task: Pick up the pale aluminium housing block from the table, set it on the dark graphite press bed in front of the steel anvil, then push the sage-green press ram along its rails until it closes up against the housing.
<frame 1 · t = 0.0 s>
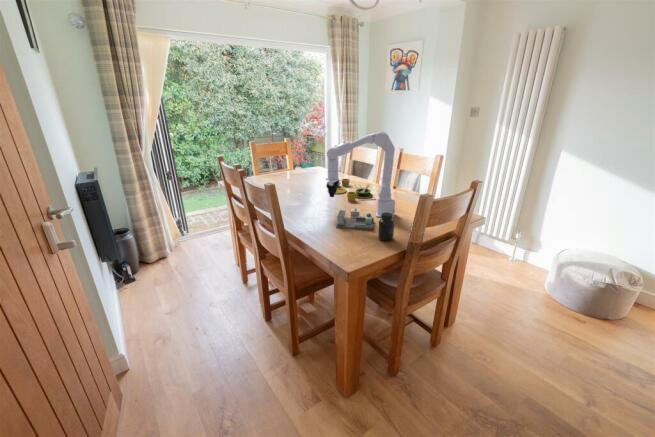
hand: (333, 194, 162), 10 cm above the table, tool pointing down, fingers open, 7 cm apart
press: (355, 224, 149), on the table
tableware set: (348, 193, 201), on the table
supplement bottle: (385, 239, 134), on the table
housing: (355, 217, 159), on the table
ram: (368, 218, 147), point 4 cm above the table, slide at 0.0 cm
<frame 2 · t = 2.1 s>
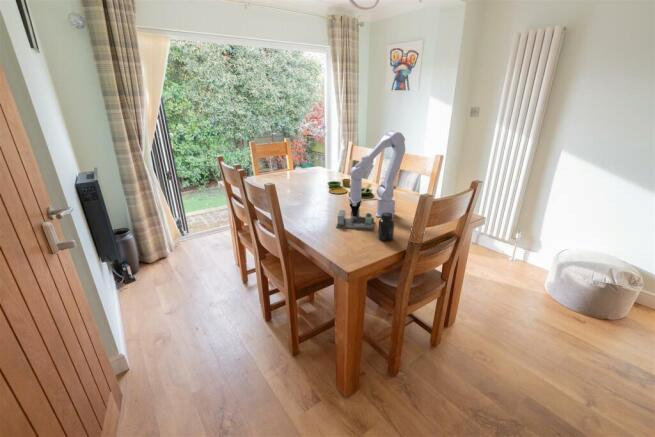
hand: (355, 214, 159), 1 cm above the table, tool pointing down, fingers closed on housing, 4 cm apart
housing: (355, 216, 159), on the table, touching gripper
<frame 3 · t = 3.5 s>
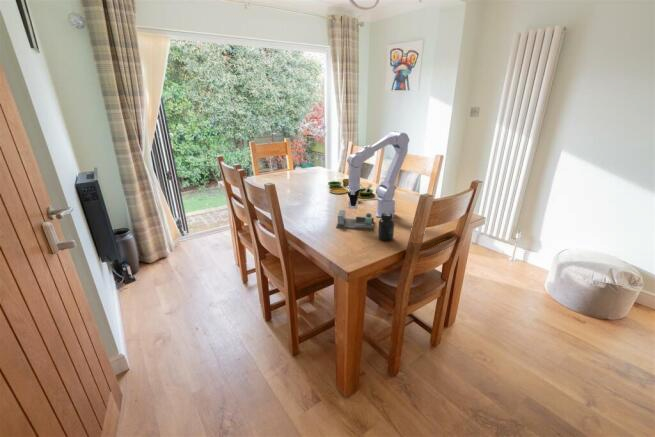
hand: (353, 204, 153), 8 cm above the table, tool pointing down, fingers closed on housing, 4 cm apart
housing: (353, 207, 153), point 7 cm above the table, touching gripper
when the fingers open (4 cm above the table, at t = 5.2 s): housing drops 1 cm, resting on press.
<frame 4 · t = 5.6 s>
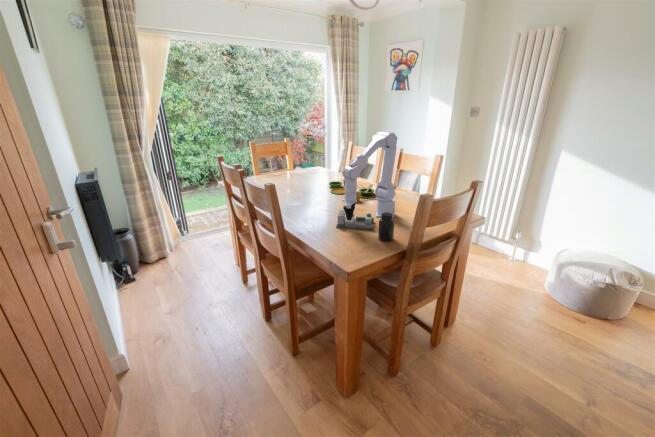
hand: (349, 217, 148), 4 cm above the table, tool pointing down, fingers open, 7 cm apart
housing: (349, 222, 150), point 1 cm above the table, touching press
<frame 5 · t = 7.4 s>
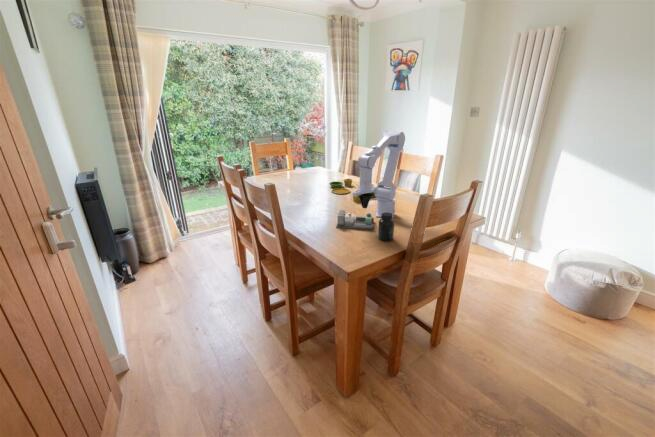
hand: (364, 207, 145), 9 cm above the table, tool pointing down, fingers closed
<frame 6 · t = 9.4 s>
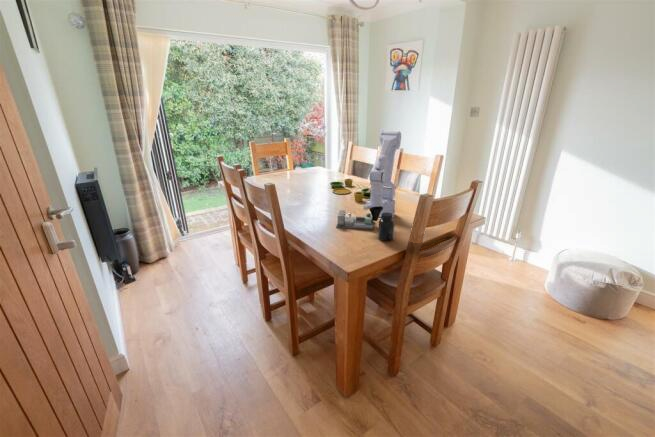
hand: (375, 220, 147), 3 cm above the table, tool pointing down, fingers closed
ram: (368, 218, 147), point 4 cm above the table, slide at 0.1 cm, touching gripper
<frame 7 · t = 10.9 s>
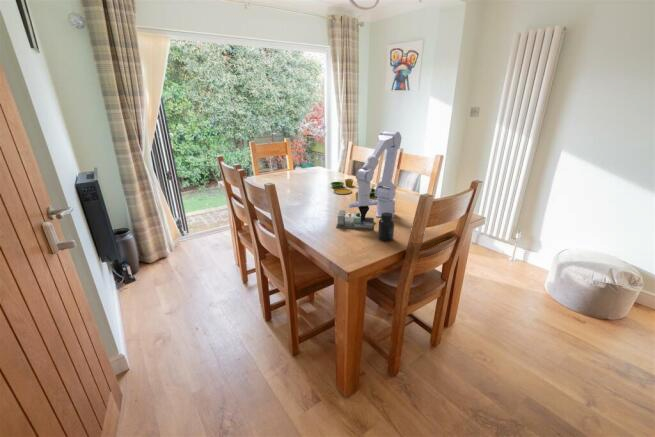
hand: (362, 219, 147), 3 cm above the table, tool pointing down, fingers closed, pressing on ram
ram: (357, 218, 148), point 4 cm above the table, slide at 5.3 cm, touching gripper
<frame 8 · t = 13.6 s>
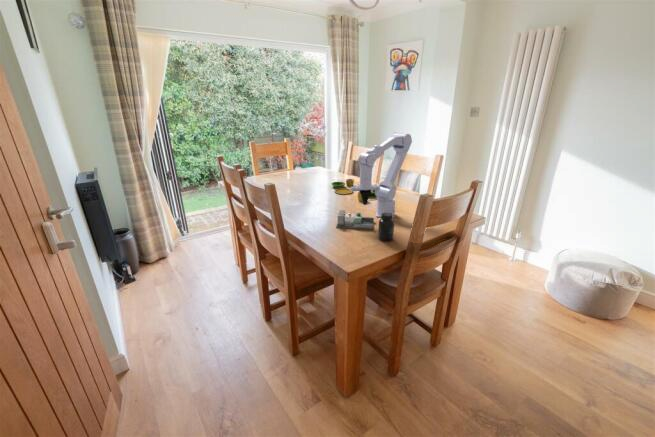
hand: (364, 204, 150), 9 cm above the table, tool pointing down, fingers closed
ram: (358, 218, 148), point 4 cm above the table, slide at 5.0 cm
at the end: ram slide at 5.0 cm; housing 0.1 cm from the target spot on the press, point 0.8 cm above the press's base; housing tilted 0° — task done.
